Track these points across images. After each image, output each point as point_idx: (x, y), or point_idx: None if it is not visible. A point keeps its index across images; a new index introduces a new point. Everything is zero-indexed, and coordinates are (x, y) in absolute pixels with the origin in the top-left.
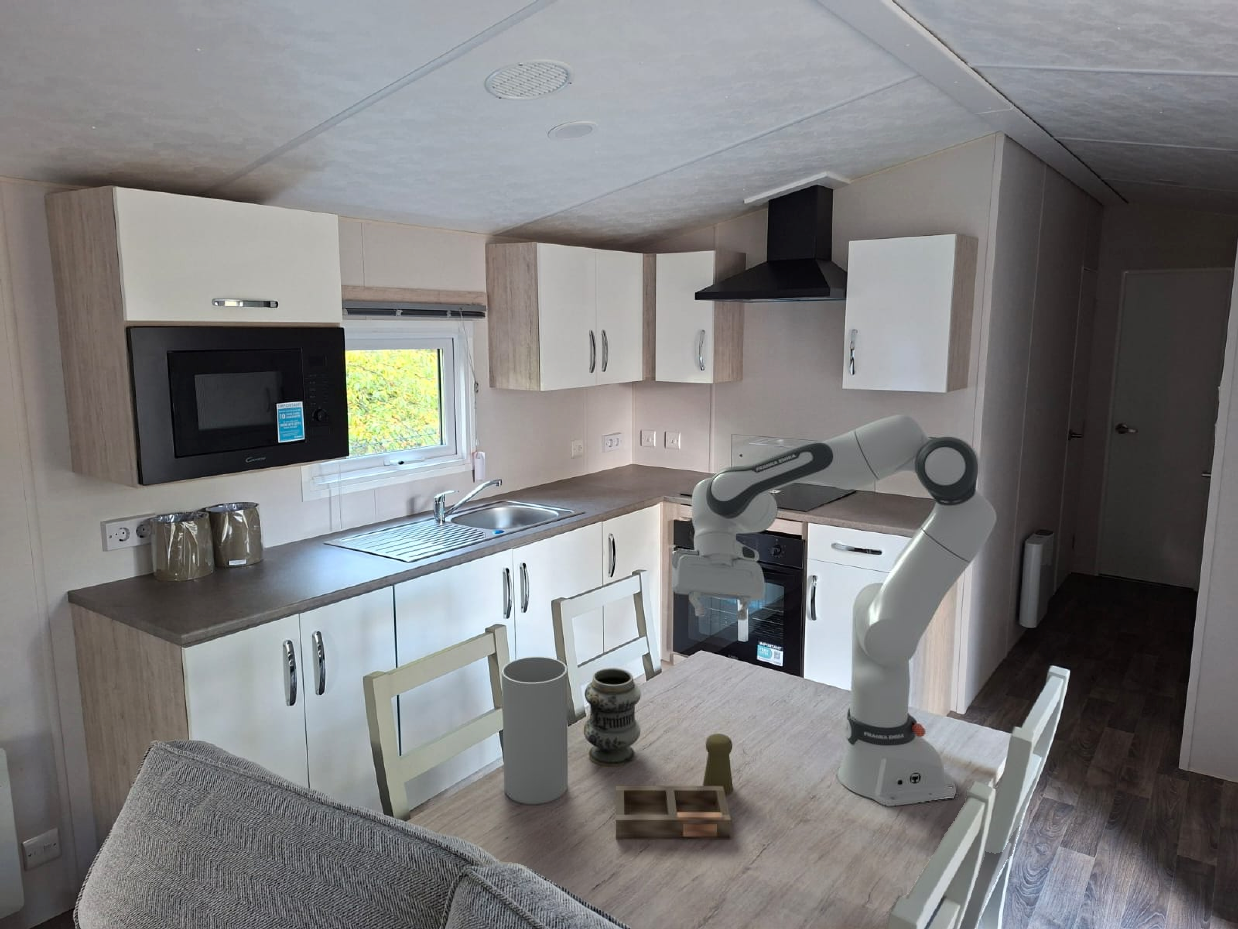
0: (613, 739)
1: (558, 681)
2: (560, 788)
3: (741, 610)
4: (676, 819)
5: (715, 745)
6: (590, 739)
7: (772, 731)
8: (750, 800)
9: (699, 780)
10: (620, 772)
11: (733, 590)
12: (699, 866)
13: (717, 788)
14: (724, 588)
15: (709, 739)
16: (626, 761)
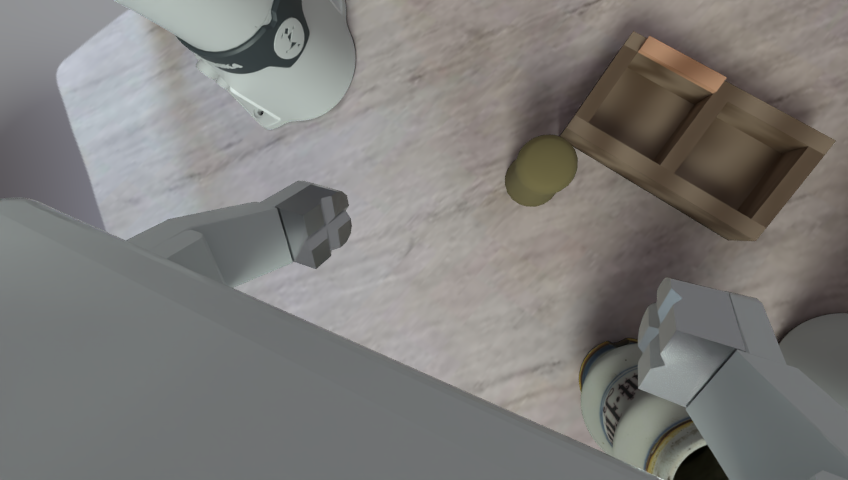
0: None
1: None
2: (835, 319)
3: (300, 209)
4: (724, 81)
5: (572, 147)
6: None
7: (322, 271)
8: (509, 123)
9: (541, 218)
10: None
11: (208, 311)
12: (716, 16)
13: (582, 126)
14: (312, 386)
15: (570, 171)
16: (621, 342)
